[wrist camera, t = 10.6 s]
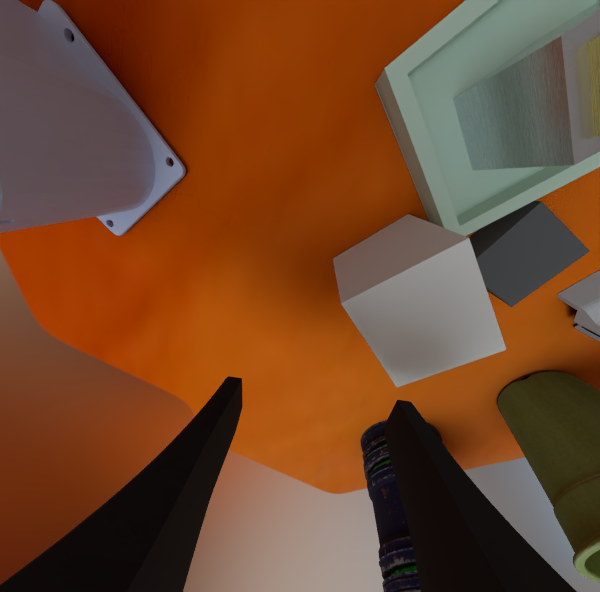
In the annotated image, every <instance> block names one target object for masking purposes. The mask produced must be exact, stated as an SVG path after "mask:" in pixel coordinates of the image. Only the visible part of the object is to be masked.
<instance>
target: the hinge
mask: <svg viewBox="0 0 600 592" xmlns="http://www.w3.org/2000/svg"><path fill="white" fill-rule="evenodd" d="M557 296H558V299H560V300H562V301H563V302H565V303H566V304H568V305H570V306H571V307H573V308H574V309H576V310H577V313H576V316H575V319H574V321H573V322H575V323H577V324H579V325H577V326H575V327H574V328H576V329H577V330H579V331H580V332H582V333H584V334H586V335H588V336H589V337H591V338H593V339H595V340H597V341H599V342H600V270H599V271H597V272H595V273H593V274H592V275H590V276H588V277H586V278H585V279H583V280H581V281H579V282H578V283H576V284H574V285H572V286H570V287H569V288H567V289H565V290H563V291H562V292H560V293H558V294H557Z"/></svg>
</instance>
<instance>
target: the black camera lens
mask: <svg viewBox="0 0 600 592" xmlns="http://www.w3.org/2000/svg"><path fill="white" fill-rule="evenodd" d="M386 422H387V420H385V421H382V422H379V423H377V424H375V425H373V426H371V427H370V428H368V429H367V430H366V431H365V432H364V434H363V435H362V437H361V447H362V451H363V460H364V472H365V478H366V480H367V488H368V492H369V497H370V499H371V500H372V502H373V507H374V513H375V519H376V524H377V531H378V537H379V543H380V549H379V558H380V561H379V565H380V567H381V571H382V577H383V579H384V581H383V589H384V592H421V590H420V585H419V579H418V573H417V568H416V562H415V557H414V552H413V547H412V542H411V537H410V532H409V528H408V524H407V519H406V515H405V512H404V508H403V504H402V501H401V497H400V494H399V490H398V486H397V483H396V479H395V475H394V472H393V468H392V464H391V461H390V457H389V453H388V448H387V442H386V436H385V429H384V426H385V424H386ZM426 423H427V422H426ZM427 424H428V426H429V427H430V428H431V430H432V431H433V432H434V434H435V435H436V436H437V438H438V439H439V440H440V442H441V443H442V438H441V436H440V434H439V432H438V431H437V429H436V428H435V427H433V426H432V425H430V424H429V423H427ZM442 444H443V443H442ZM443 445H444V444H443ZM444 447H445V445H444ZM445 448H446V447H445Z"/></svg>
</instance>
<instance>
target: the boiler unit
mask: <svg viewBox="0 0 600 592" xmlns="http://www.w3.org/2000/svg"><path fill="white" fill-rule="evenodd" d="M333 264H334V269H335V275H336V280H337V285H338V291H339V296H340V302H341V304H342V306H343V308H344V309H345V311H346V312H347V314H348V315H349V317H350V318H351V320H352V321H353V323H354V324H355V326H356V327H357V329H358V330H359V332H360V333H361V335H362V336H363V338H364V339H365V341H366V342H367V344H368V345H369V347H370V348H371V350H372V351H373V353H374V354H375V356H376V357H377V359H378V360H379V362H380V363H381V365H382V366H383V368H384V369H385V371H386V372H387V374H388V375H389V377H390V378H391V380H392V381H393V383H394V384H395V386H396V387H400V386H403V385H405V384H408V383H411V382H414V381H417V380H420V379H423V378H426V377H429V376H432V375H435V374H437V373H440V372H443V371H446V370H449V369H452V368H455V367H458V366H461V365H464V364H466V363H469V362H472V361H475V360H478V359H481V358H484V357H487V356H490V355H493V354H495V353H498V352H501V351H504V350H506V347H505V344H504V341H503V338H502V335H501V332H500V329H499V326H498V323H497V320H496V317H495V314H494V311H493V308H492V305H491V302H490V299H489V296H488V293H487V290H486V287H485V284H484V281H483V278H482V275H481V272H480V269H479V266H478V263H477V260H476V257H475V254H474V251H473V248H472V245H471V242H470V239H469V238H468V237H466V236H463V235H461V234H458V233H456V232H453V231H450V230H448V229H445V228H443V227H440V226H438V225H435V224H433V223H430V222H428V221H425V220H422V219H420V218H417V217H415V216H412V215H410V214H407V215H405V216H404V217H402V218H400V219H398V220H397V221H395V222H393V223H392V224H390V225H388V226H387V227H385V228H383V229H382V230H380V231H378V232H377V233H375V234H373V235H371V236H370V237H368V238H366V239H365V240H363V241H361V242H360V243H358V244H356V245H355V246H353V247H351V248H350V249H348V250H346V251H345V252H343V253H341V254H339V255H338V256H336V257H334V258H333Z"/></svg>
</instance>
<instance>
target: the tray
mask: <svg viewBox="0 0 600 592" xmlns="http://www.w3.org/2000/svg"><path fill="white" fill-rule="evenodd" d="M598 1H600V0H465V1H464V2H463V3H462V4H461V5H459V6H458V7H457V8H456V9H455V10H453V11H452V12H451V13H450V14H449V15H447V16H446V17H445V18H444V19H443V20H441V21H440V22H439V23H438V24H437V25H435V26H434V27H433V28H432V29H431V30H429V31H428V32H427V33H426V34H425V35H424V36H422V37H421V38H420V39H419V40H418V41H416V42H415V43H414V44H413V45H412V46H410V47H409V48H408V49H407V50H406V51H404V52H403V53H402V54H401V55H400V56H398V57H397V58H396V59H395V60H394V61H392V62H391V63H390V64H389V65H388V66H386V67H385V68H384V70H383V71H382V73H381V75H380V76H379V78H378V80H377V81H376V83H375V88H376V90H377V93H378V95H379V98H380V100H381V103H382V105H383V108H384V110H385V113H386V115H387V118H388V120H389V123H390V125H391V128H392V130H393V133H394V135H395V138H396V140H397V143H398V145H399V148H400V150H401V153H402V155H403V158H404V160H405V163H406V165H407V168H408V170H409V173H410V175H411V178H412V180H413V183H414V185H415V188H416V190H417V193H418V195H419V198H420V200H421V203H422V205H423V208H424V210H425V213H426V215H427V218H428V220H429V222H430V223H433V224H435V225H438V226H440V227H443V228H445V229H448V230H450V231H453V232H456V233H458V234H461V235H463V236H467V235H469V234H471V233H473V232H475V231H477V230H478V229H480V228H482V227H484V226H486V225H488V224H490V223H492V222H494V221H496V220H498V219H500V218H502V217H504V216H506V215H507V214H509V213H511V212H513V211H515V210H517V209H519V208H521V207H523V206H525V205H527V204H529V203H531V202H533V201H535V200H537V199H538V198H540V197H542V196H544V195H546V194H548V193H550V192H552V191H554V190H556V189H558V188H560V187H562V186H564V185H566V184H567V183H569V182H571V181H573V180H575V179H577V178H579V177H581V176H583V175H585V174H587V173H589V172H591V171H593V170H595V169H596V168H598V167H600V152H598V153H596V154H594V155H593V156H591V157H589V158H587V159H585V160H583V161H581V162H579V163H577V164H575V165H566V166H546V167H527V168H508V169H489V170H472V166H471V163H470V159H469V156H468V152H467V148H466V145H465V141H464V138H463V134H462V130H461V127H460V123H459V120H458V116H457V112H456V109H455V105H454V102H453V99H454V98H455V97H457V96H458V95H460V94H461V93H463V92H464V91H465V90H467V89H468V88H470V87H471V86H473V85H474V84H475V83H477V82H478V81H480V80H481V79H482V78H484V77H485V76H487V75H488V74H490V73H491V72H492V71H494V70H495V69H497V68H498V67H500V66H501V65H502V64H504V63H505V62H507V61H508V60H510V59H511V58H512V57H514V56H515V55H517V54H518V53H519V52H521V51H522V50H524V49H525V48H527V47H528V46H529V45H531V44H532V43H534V42H535V41H537V40H538V39H539V38H541V37H543V36H544V35H546V34H547V33H549V32H550V31H552V30H554V29H555V28H557V27H558V26H560V25H562V24H563V23H565V22H566V21H568V20H569V19H571V18H573V17H574V16H576V15H577V14H579V13H581V12H582V11H584V10H585V9H587V8H588V7H590V6H592V5H593V4H595V3H596V2H598Z"/></svg>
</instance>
